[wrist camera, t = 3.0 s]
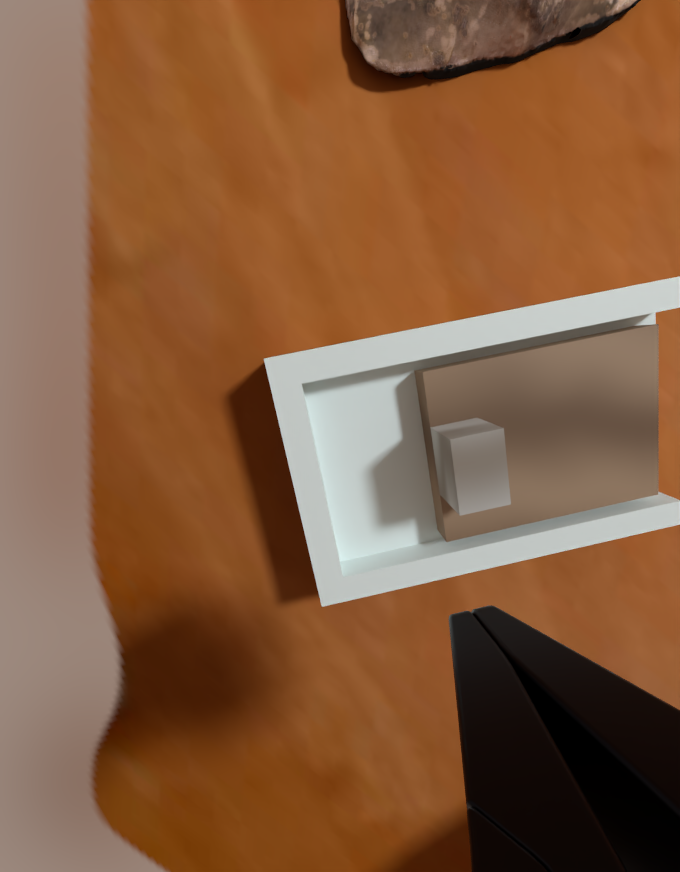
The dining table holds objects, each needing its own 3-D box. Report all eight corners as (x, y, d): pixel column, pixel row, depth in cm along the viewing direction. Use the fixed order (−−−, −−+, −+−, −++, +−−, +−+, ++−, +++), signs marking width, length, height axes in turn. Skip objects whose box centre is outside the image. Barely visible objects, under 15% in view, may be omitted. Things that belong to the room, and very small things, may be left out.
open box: (630, 501, 21) (680, 524, 18) (319, 571, 20) (321, 606, 17) (627, 286, 18) (683, 275, 15) (270, 357, 17) (263, 358, 15)
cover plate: (636, 485, 19) (707, 514, 16) (437, 529, 18) (466, 569, 15) (634, 325, 17) (713, 320, 14) (414, 370, 17) (441, 375, 13)
